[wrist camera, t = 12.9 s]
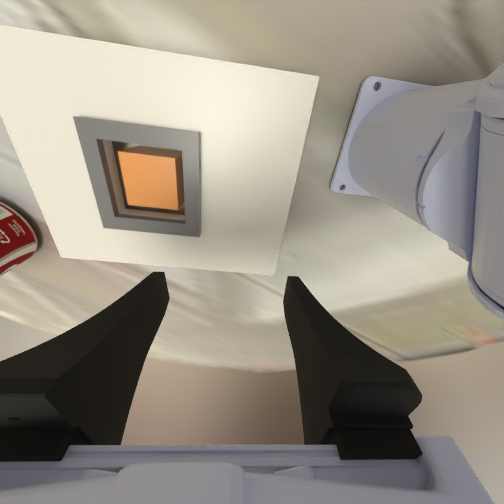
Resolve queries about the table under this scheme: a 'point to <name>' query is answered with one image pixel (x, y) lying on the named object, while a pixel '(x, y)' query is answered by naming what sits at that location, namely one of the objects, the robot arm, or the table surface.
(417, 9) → the table surface
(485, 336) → the table surface
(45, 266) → the table surface
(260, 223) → the box
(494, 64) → the table surface
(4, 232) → the soda can
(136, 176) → the button
